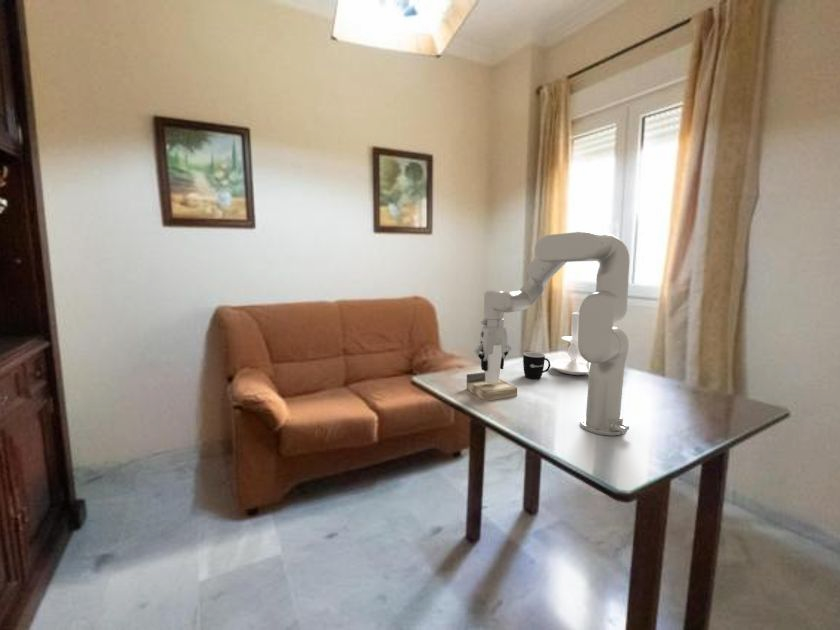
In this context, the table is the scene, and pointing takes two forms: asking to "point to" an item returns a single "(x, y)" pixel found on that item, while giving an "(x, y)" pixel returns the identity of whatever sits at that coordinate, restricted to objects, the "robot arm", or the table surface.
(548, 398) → the table surface
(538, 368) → the mug
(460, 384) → the table surface
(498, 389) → the dock
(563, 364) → the candlestick
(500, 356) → the white tapered cup
